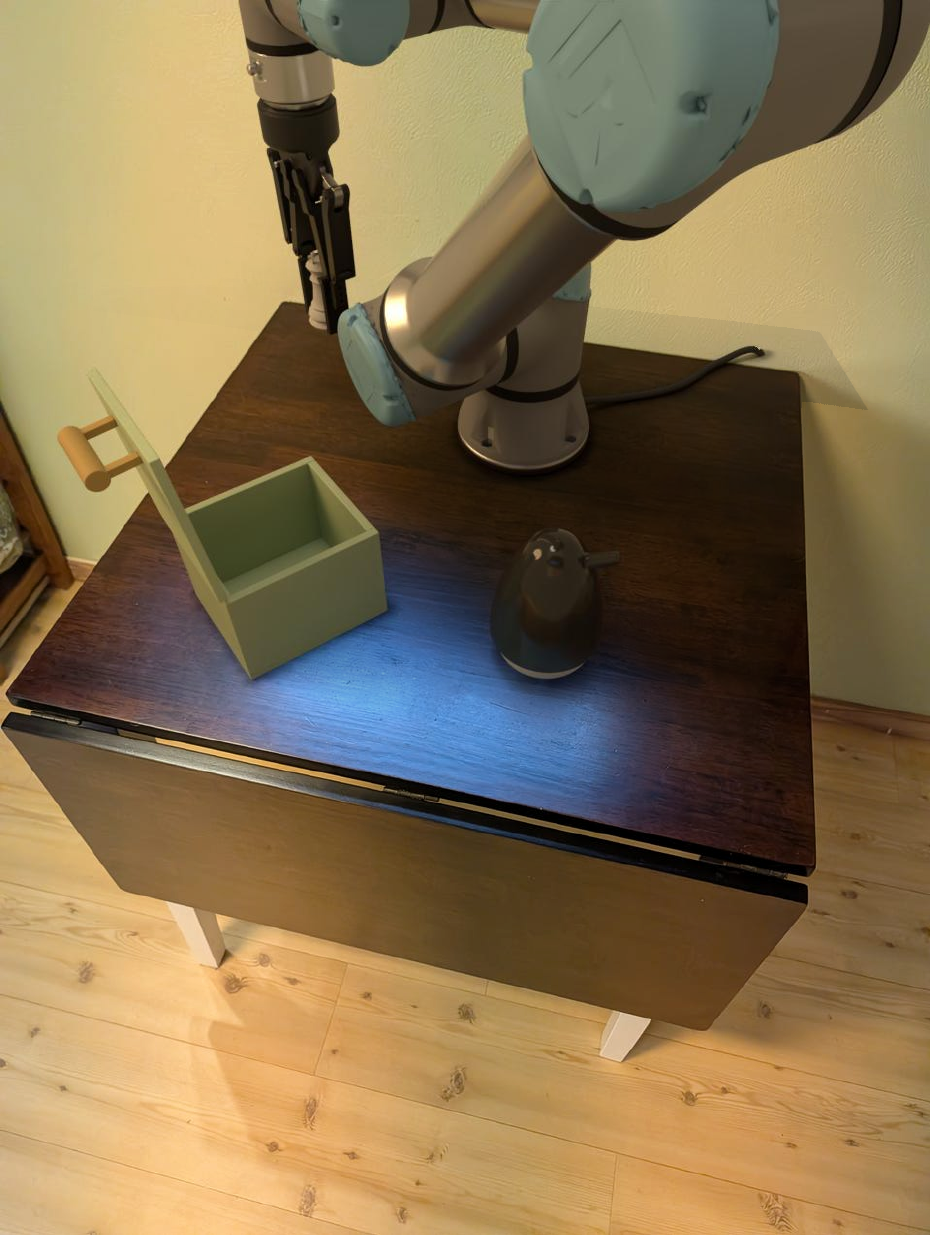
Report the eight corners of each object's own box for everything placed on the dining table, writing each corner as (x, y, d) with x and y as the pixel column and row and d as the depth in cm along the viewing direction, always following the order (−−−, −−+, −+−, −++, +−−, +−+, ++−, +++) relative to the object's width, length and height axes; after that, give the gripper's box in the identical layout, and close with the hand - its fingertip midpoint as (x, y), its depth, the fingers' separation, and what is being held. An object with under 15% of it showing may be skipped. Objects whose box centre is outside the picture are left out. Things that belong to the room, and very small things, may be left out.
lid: (94, 366, 63) (29, 394, 61) (159, 457, 56) (88, 491, 55) (168, 510, 75) (116, 536, 74) (228, 599, 69) (172, 629, 67)
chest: (325, 535, 89) (311, 455, 81) (387, 610, 82) (379, 532, 74) (196, 594, 84) (166, 516, 75) (251, 680, 77) (225, 605, 69)
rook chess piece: (314, 310, 100) (304, 244, 93) (351, 313, 99) (344, 247, 93) (305, 331, 97) (293, 264, 91) (343, 334, 96) (334, 267, 90)
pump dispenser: (593, 705, 75) (617, 595, 64) (479, 686, 77) (482, 574, 65) (604, 618, 82) (628, 503, 70) (499, 602, 83) (504, 486, 71)
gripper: (220, 77, 83) (265, 297, 101) (303, 135, 74) (337, 366, 92) (288, 61, 86) (320, 279, 104) (377, 115, 76) (395, 344, 94)
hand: (328, 319), depth 98 cm, fingers closed on rook chess piece, 4 cm apart
